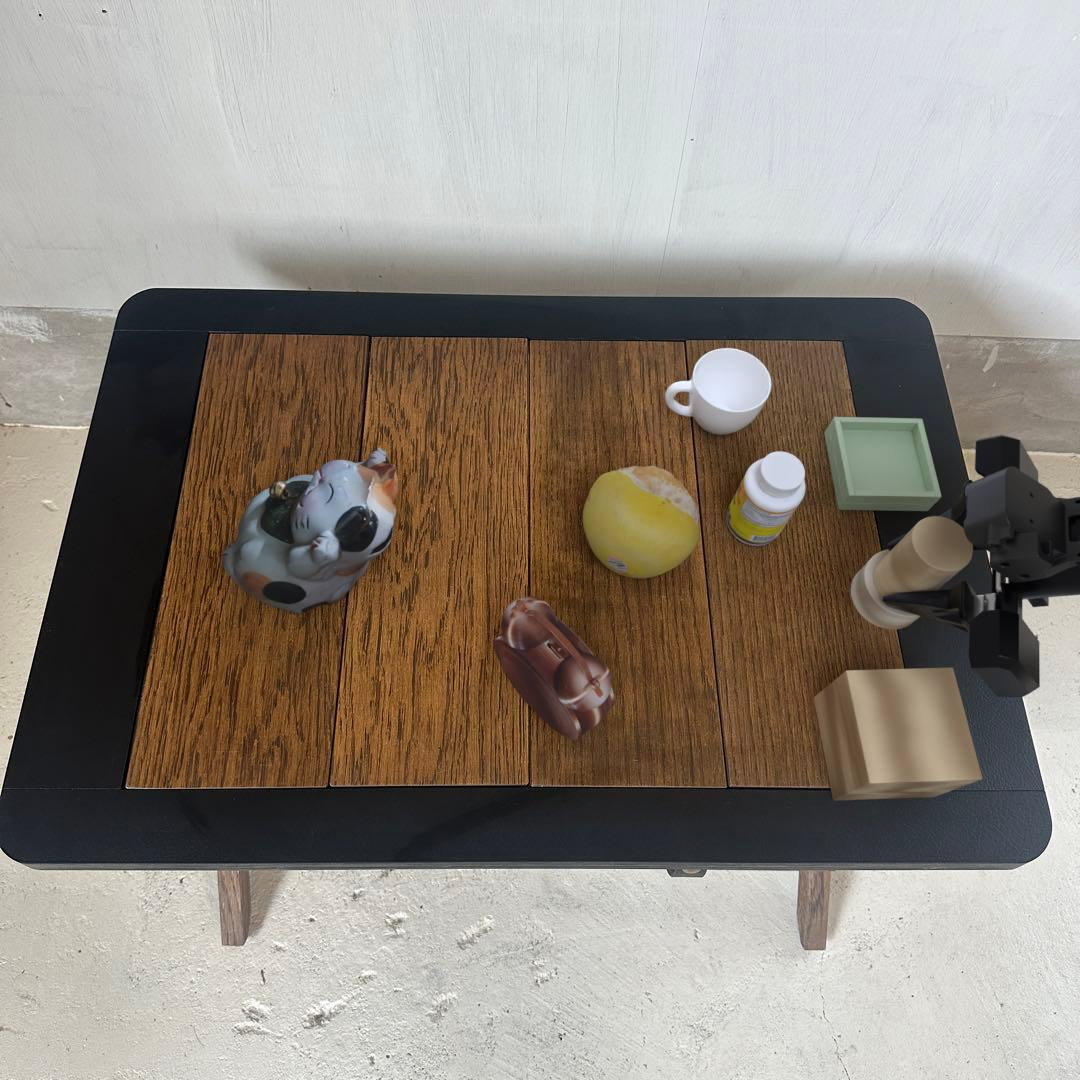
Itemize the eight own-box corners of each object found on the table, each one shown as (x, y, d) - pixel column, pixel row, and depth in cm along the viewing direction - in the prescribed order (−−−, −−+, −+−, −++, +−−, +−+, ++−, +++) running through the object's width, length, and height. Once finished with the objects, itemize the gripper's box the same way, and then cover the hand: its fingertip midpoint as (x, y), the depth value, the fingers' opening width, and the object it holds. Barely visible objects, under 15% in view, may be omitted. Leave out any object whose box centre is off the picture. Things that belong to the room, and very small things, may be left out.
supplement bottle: (747, 488, 86) (777, 432, 76) (791, 523, 84) (827, 470, 75) (712, 522, 84) (739, 469, 74) (757, 559, 82) (789, 509, 73)
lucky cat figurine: (285, 467, 84) (334, 383, 74) (386, 538, 86) (446, 466, 76) (194, 572, 74) (236, 491, 64) (311, 649, 76) (369, 583, 66)
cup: (757, 449, 88) (777, 412, 82) (662, 449, 87) (674, 411, 81) (747, 388, 91) (765, 347, 85) (655, 388, 90) (666, 347, 84)
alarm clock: (609, 722, 74) (635, 670, 61) (569, 759, 73) (586, 713, 59) (527, 633, 78) (534, 564, 64) (487, 666, 76) (485, 603, 63)
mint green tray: (909, 434, 89) (922, 418, 87) (928, 511, 85) (942, 496, 83) (823, 432, 89) (833, 416, 86) (838, 510, 85) (849, 495, 82)
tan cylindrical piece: (933, 594, 70) (997, 540, 61) (898, 643, 68) (959, 595, 59) (873, 551, 71) (927, 493, 63) (837, 598, 69) (887, 545, 60)
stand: (910, 694, 77) (953, 667, 70) (935, 797, 73) (983, 779, 66) (813, 697, 76) (846, 670, 69) (832, 800, 72) (869, 783, 65)
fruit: (680, 604, 80) (703, 559, 71) (568, 579, 80) (577, 531, 71) (695, 511, 84) (719, 458, 75) (589, 488, 85) (600, 432, 76)
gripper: (1084, 364, 55) (852, 420, 66) (1094, 622, 47) (827, 639, 58) (1126, 457, 62) (909, 494, 73) (1141, 698, 54) (894, 701, 64)
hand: (886, 574), depth 67 cm, fingers closed on tan cylindrical piece, 4 cm apart
